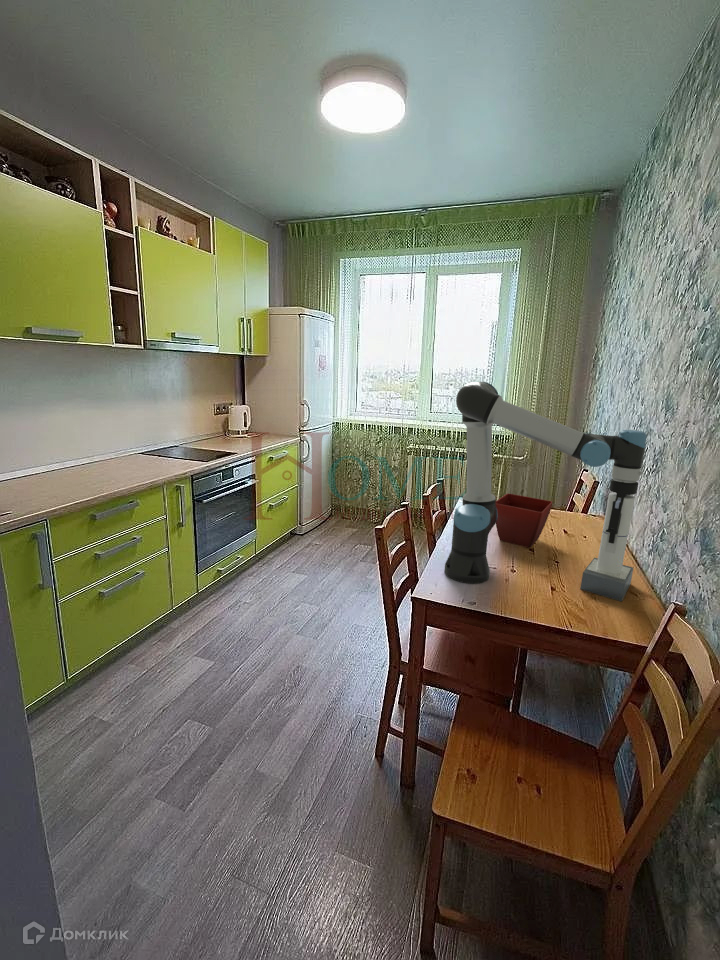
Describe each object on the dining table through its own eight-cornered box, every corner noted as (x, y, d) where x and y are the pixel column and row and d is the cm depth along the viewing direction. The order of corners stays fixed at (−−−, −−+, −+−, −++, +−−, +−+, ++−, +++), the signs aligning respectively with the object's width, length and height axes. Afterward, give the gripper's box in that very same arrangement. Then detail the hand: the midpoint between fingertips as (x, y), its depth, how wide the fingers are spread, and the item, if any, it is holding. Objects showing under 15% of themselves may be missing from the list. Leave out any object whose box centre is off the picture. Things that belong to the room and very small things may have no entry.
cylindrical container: (599, 571, 143) (612, 497, 137) (594, 563, 150) (606, 491, 144) (624, 574, 141) (638, 499, 135) (617, 565, 148) (630, 493, 142)
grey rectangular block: (621, 601, 137) (625, 582, 136) (580, 589, 145) (583, 571, 143) (630, 584, 149) (633, 566, 148) (591, 573, 157) (594, 556, 155)
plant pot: (536, 553, 173) (542, 512, 169) (488, 541, 184) (492, 502, 180) (548, 539, 189) (553, 501, 185) (503, 529, 199) (507, 493, 195)
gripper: (633, 488, 128) (619, 561, 134) (643, 476, 144) (630, 542, 149) (604, 483, 133) (592, 554, 138) (617, 473, 148) (606, 537, 154)
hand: (612, 548), depth 144 cm, fingers open, 8 cm apart
